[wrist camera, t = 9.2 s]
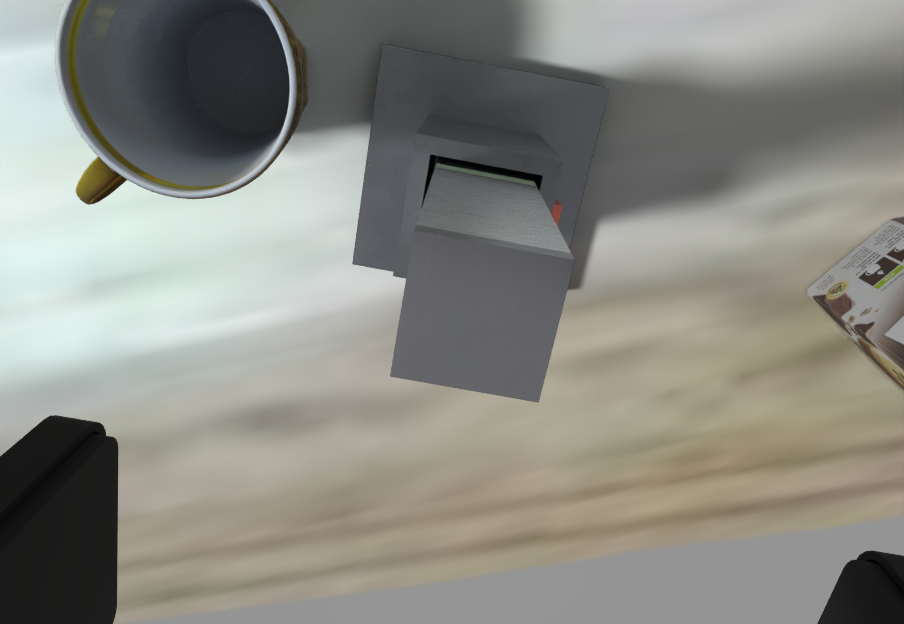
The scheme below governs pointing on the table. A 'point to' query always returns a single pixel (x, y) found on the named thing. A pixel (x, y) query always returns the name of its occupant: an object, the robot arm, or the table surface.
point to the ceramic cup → (179, 92)
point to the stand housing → (468, 141)
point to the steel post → (482, 284)
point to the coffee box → (870, 299)
